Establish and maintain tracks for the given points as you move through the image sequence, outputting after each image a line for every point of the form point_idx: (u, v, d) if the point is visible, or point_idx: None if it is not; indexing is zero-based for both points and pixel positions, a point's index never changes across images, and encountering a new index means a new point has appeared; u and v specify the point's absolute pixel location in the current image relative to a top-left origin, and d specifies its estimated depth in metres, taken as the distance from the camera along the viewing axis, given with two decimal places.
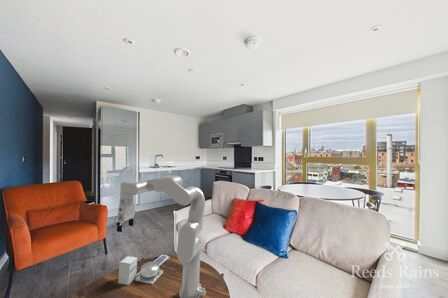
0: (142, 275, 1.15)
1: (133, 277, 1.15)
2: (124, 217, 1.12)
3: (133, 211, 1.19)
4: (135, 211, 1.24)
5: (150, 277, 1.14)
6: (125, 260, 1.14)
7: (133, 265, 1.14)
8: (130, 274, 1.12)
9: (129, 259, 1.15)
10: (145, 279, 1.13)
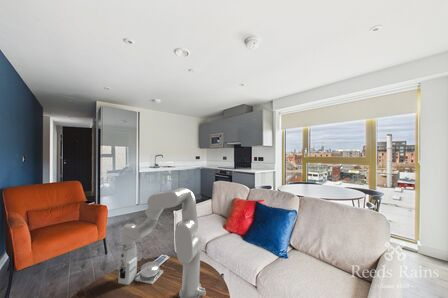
0: (142, 275, 1.15)
1: (133, 277, 1.15)
2: (126, 263, 1.11)
3: (135, 254, 1.18)
4: (137, 254, 1.22)
5: (150, 277, 1.14)
6: None
7: (133, 265, 1.14)
8: (130, 274, 1.12)
9: None
10: (145, 279, 1.13)
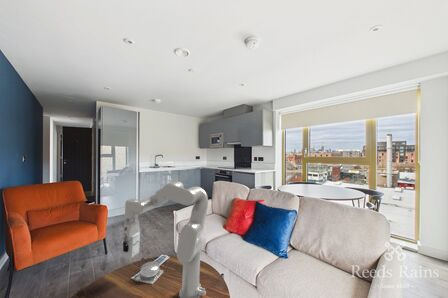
0: (142, 275, 1.15)
1: (136, 251, 1.16)
2: (129, 236, 1.11)
3: (138, 229, 1.19)
4: None
5: (150, 277, 1.14)
6: None
7: (136, 239, 1.15)
8: (133, 248, 1.13)
9: None
10: (145, 279, 1.13)
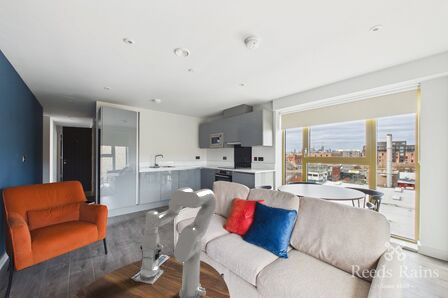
0: (142, 275, 1.15)
1: (148, 267, 1.15)
2: (142, 245, 1.18)
3: (153, 244, 1.16)
4: (161, 246, 1.17)
5: (150, 277, 1.14)
6: None
7: (147, 254, 1.16)
8: (144, 261, 1.16)
9: None
10: (145, 279, 1.13)
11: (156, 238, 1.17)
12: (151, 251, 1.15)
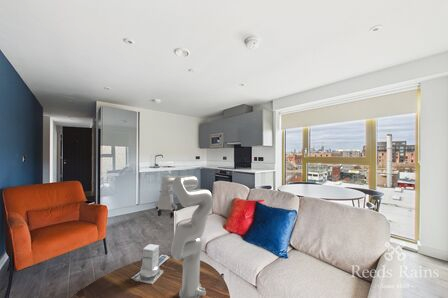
0: (142, 275, 1.15)
1: (148, 267, 1.15)
2: (158, 205, 1.33)
3: (168, 204, 1.31)
4: (175, 206, 1.32)
5: (150, 277, 1.14)
6: (149, 245, 1.21)
7: (146, 254, 1.16)
8: (144, 261, 1.16)
9: (151, 247, 1.19)
10: (145, 279, 1.13)
11: (171, 198, 1.32)
12: (151, 251, 1.15)
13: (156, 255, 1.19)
